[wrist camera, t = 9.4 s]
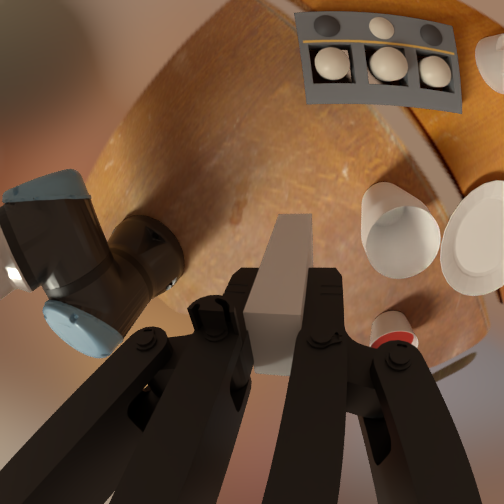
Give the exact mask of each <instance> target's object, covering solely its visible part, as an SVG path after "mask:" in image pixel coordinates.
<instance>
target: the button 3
mask: <svg viewBox="0 0 504 504" xmlns="http://www.w3.org/2000/svg"><path fill="white" fill-rule="evenodd" d="M417 63H418V71H419V82H420V84H421V85H423V86H425V87H444V86H446V85H448V84H449V82H450V80H451V71H450V68H449V66H448V64H447V63H446V62H445V61H444V60H443V59H441V58H440V57H437V56H430V57H426V58H423V59H421V60H418V61H417Z"/></svg>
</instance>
